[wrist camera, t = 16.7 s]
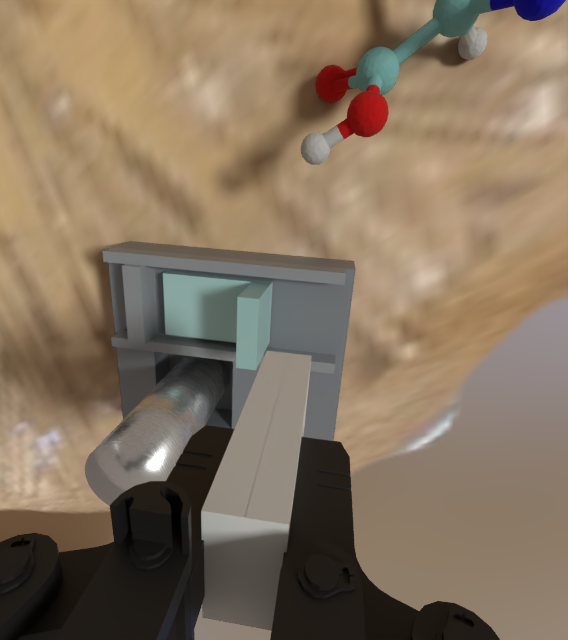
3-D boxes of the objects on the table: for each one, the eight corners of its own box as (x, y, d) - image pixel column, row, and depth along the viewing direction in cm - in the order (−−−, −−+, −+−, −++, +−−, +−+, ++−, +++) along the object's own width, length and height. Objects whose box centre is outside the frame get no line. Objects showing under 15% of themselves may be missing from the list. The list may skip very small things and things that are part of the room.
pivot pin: (180, 393, 26) (90, 505, 17) (178, 346, 25) (80, 439, 16) (230, 399, 26) (166, 518, 16) (230, 352, 25) (161, 451, 15)
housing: (142, 405, 28) (110, 440, 24) (130, 241, 24) (88, 251, 20) (332, 432, 26) (330, 474, 22) (354, 261, 22) (356, 276, 18)
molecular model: (281, -223, 13) (487, -501, 6) (481, -143, 17) (772, -264, 9) (257, 130, 20) (341, 195, 13) (402, 137, 23) (534, 194, 16)
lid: (170, 330, 22) (139, 355, 19) (167, 270, 21) (134, 286, 18) (269, 342, 22) (255, 370, 18) (272, 281, 20) (259, 299, 17)
